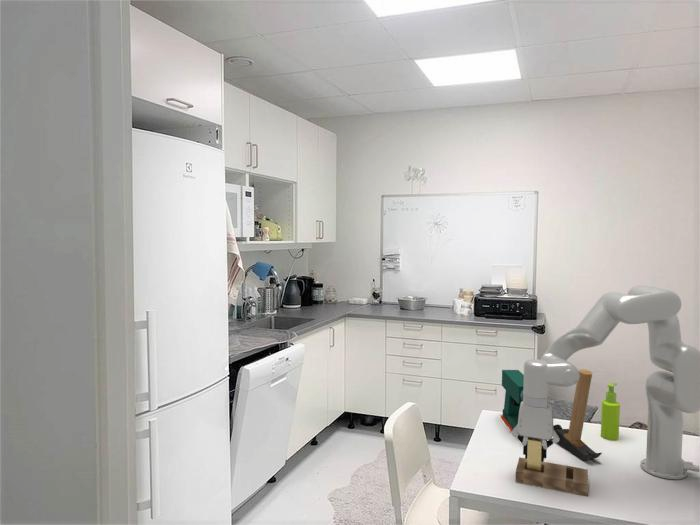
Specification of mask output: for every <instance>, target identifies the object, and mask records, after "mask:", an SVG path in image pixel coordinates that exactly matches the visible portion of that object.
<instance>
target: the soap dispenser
mask: <svg viewBox="0 0 700 525" xmlns="http://www.w3.org/2000/svg"><path fill="white" fill-rule="evenodd" d="M617 385H618V383H616V382H609V383H608V384H607V388H608V391H606V393H605V399H603V400H601V418H600V419H601V420H600V421H601V422H600V438H602V439H604V440H607V441H619V438H620V436H619V435H620V416H621V415H620V409H621V407H620V406H621V403H620V402H618V401H617V393H616V392H615V391H614V390H615V386H617Z"/></svg>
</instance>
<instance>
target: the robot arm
mask: <svg viewBox="0 0 700 525" xmlns="http://www.w3.org/2000/svg"><path fill="white" fill-rule="evenodd" d="M681 308H682V299H681V298H680V296H679V295H678V294H677V292H674V291H673V290H671V289H665V288H659V287H653V286H649V285H635V286H632V287H631V288H629V290H628V292H627V294H626V293H621V292H617V291H616V292H614V291H611V292H610V291H609V292H606V293H604V294H602V295H601V296H600V297H599V299H597V301H596V302H595V304H594V305H593V306H592V307H591V309H590V310H589V311H588V312H587V314H586V315H585V316H584V317H583V319H582V320H581V321H580V323H579V324H578V325H577V326H576V327H575V328H572V329H571V330H569V331H567V332H565V333H564V334H563V335H561V336H560V337H559V338H557V339H556V340H554V341H553V342H552V343H551V344H550V345H549V347H548V348H547V349H546V350H545V352H544V353H543V355H542V356H541V358H540V359H538V358H537V359H535V358H533V359H532V358H531V359H527V360H526V361H525V362H524V364H523V375H524V388H523V401H522V402H521V404H520V409H519V417H518V424H517V425H516V427H515V428H514V429H513V430H512V432H511V435H512V436H514V437H515V438H517V439H518V441H519V442H520V443H521V444H522V455H523V456H525V457H524V458H525V459H527V446H528V437H531V438H537V439H542V450H541V461H542V462H545V461H544V460H545V459H547V450H548V448H550V447H552V446H553V445H554V444H556V443H557V442H559V440H560V438H559V437H558V435H557V433H556V432H555V430H554V429H553V426H554V411H553V406H552V405H551V404H555V399H554V398H551V397H550V394H551V393H550V390H551V388H550V386H555V387H556V386H557V387H565V388H567V387H572V386H574V385H576V384H577V382H578V380H579V377H580V374H579V369H578V368H577V366H576V365H574V363H571V362H570V361H568V360H569V358H570V357H571V356H573V355H574V354H575V353H577V352H579V351H581V350H584V349H590V348H595V347H597V346H601V345H603V343H604V342H605V341H606V340H607V338H608V337H609V336H610V335H611V333H612V332H613V331H614V330H615V328H616V327H617V326H618V325H619V323H623V324H627V325H639V324H646V323H647V329H648V344H649V345H648V349H649V350H648V351H649V360H650V362H651V363H652V365H654V366H656V367H657V368H659V369H662V370H657V371H654V372H652V373H650V374H649V375H648V377H647V378H646V380H645V386H644V387H645V395H646V398H647V399H646V400H647V426H646V427H647V428H646V429H647V432H646V454H645V456H646V457H645V458H642V459H641V460H640V463H639V464H640V465H639V466H640V467H641V469H642V470H643V471H645V472H646V473H648V474H650V475H653V476H655V477H659V478H662V479H668V480H682V479H685V478H687V474H688V471H691V472H696V473H700V465H696V464H694V463H693V462H692V461H685V460H683V458H682V457H683V456H682V452H683V434H684V432H683V431H684V430H683V429H684V414H683V413H686V414H695V413H698V412H699V411H700V351H699V349H697V348H696V347H695V346H694V345H690V344H686V343H683V342H682V333H681V332H682V331H681V324H680V319H679V317H678V314H679V312H680V310H681ZM664 370H665V371H664ZM557 444H558V443H557Z"/></svg>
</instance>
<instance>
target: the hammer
mask: <svg viewBox="0 0 700 525" xmlns="http://www.w3.org/2000/svg"><path fill="white" fill-rule="evenodd" d="M578 371H579V374H580V377H579V380H578V382H577V383H576V384H575V386H576V387H575V391H574V398H573V403H572V408H571V409H572V410H571V414H570V419H569V420H570V421H569V427H568V428H563V427H562V425H560V424H559V423H558V424H553V429H554V430H555V432H556V433H557V435H558V437H559V438H560V440H559V442H557V444H558V445H559V446H561V448H563V449H564V450H565V451H567V452H568V453H569V454H571V455H573V456H574V457H576V458H577V459H579V460H581V461H585V460H594V459H598V458H599V457H600V456H601V455H602V454H603V452H596V451H594V450H593V449H592V448H591V447H589V446H588V445H587V444H586V443H585V442H584V441H583V440H581V439H582V434H583V428H584V424H585V417H586V411H587V407H588V406H587V405H588V400H589V395H590V388H591V382H592V378H593V372H592V371H591V370H588V369H583V368H581V369H578Z"/></svg>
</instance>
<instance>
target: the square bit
mask: <svg viewBox="0 0 700 525" xmlns="http://www.w3.org/2000/svg"><path fill="white" fill-rule="evenodd" d="M527 442H528V446H527V470H532V471H537V472H541V470H542V461H541V450H542V445H543V444H542V439H537V438H531V437H528V440H527Z"/></svg>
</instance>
